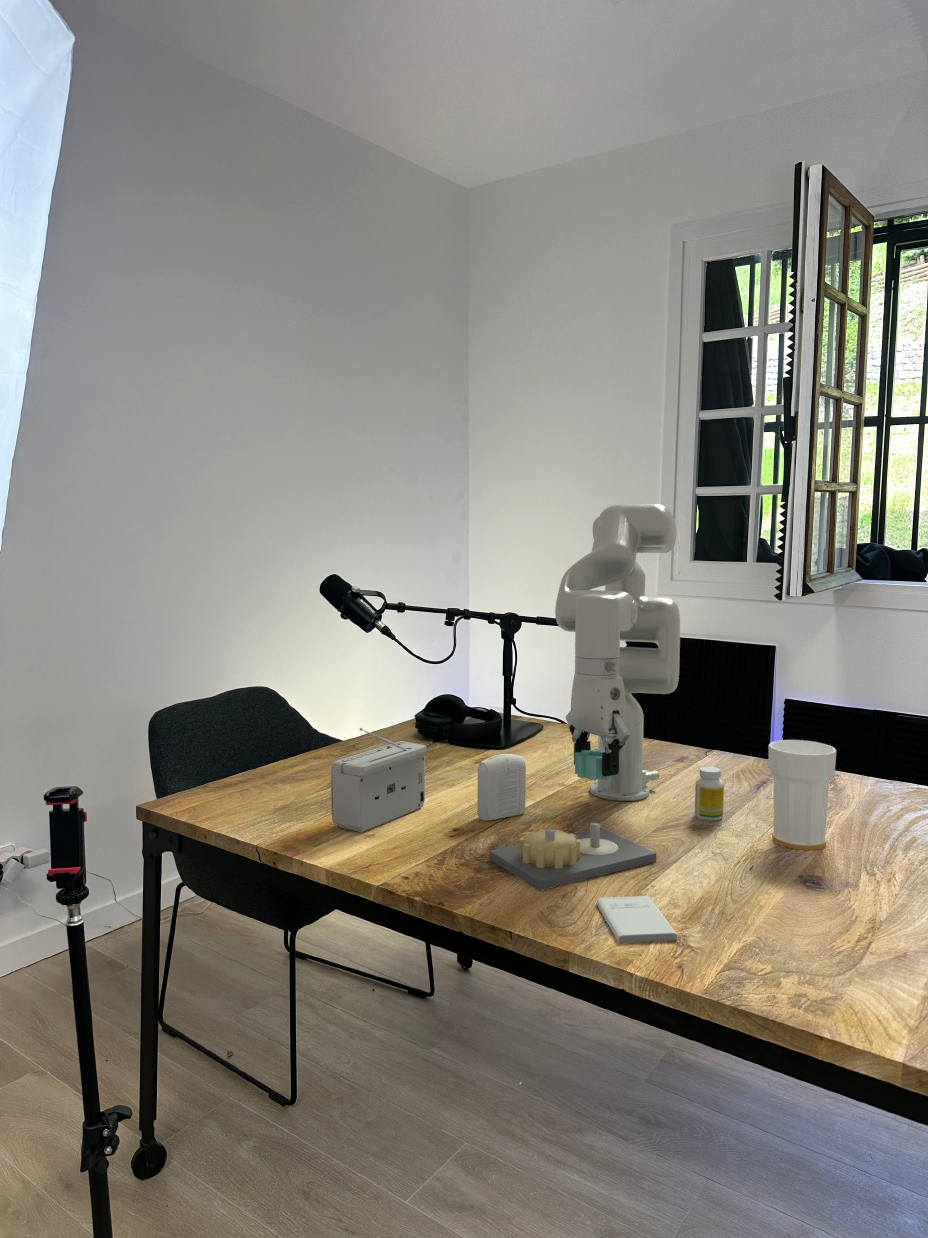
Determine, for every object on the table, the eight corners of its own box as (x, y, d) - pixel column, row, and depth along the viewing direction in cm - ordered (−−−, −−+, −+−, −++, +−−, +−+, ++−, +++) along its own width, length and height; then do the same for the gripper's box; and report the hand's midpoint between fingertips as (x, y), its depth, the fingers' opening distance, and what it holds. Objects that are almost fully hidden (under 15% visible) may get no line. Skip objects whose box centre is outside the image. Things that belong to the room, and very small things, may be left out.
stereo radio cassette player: (399, 800, 179) (398, 707, 177) (430, 807, 174) (430, 711, 172) (329, 828, 162) (327, 725, 160) (361, 837, 157) (359, 730, 155)
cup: (752, 835, 157) (754, 743, 155) (799, 827, 161) (802, 737, 160) (798, 856, 147) (801, 757, 145) (847, 847, 151) (851, 751, 149)
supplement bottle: (689, 814, 169) (690, 767, 168) (711, 811, 171) (713, 764, 170) (705, 822, 164) (706, 774, 163) (728, 819, 166) (730, 771, 165)
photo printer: (515, 808, 173) (516, 748, 172) (528, 814, 170) (529, 753, 168) (474, 817, 168) (473, 756, 166) (486, 823, 164) (486, 761, 163)
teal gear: (599, 767, 151) (599, 747, 150) (624, 776, 145) (625, 756, 144) (567, 772, 147) (567, 752, 147) (592, 782, 141) (592, 761, 141)
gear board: (600, 835, 157) (600, 803, 157) (656, 861, 144) (656, 827, 144) (489, 859, 146) (489, 825, 145) (539, 890, 133) (539, 853, 132)
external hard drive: (618, 947, 116) (596, 907, 128) (677, 944, 116) (649, 905, 129) (618, 935, 116) (596, 897, 128) (677, 932, 116) (649, 894, 129)
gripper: (649, 672, 139) (647, 779, 140) (583, 659, 154) (582, 756, 155) (612, 675, 135) (611, 785, 136) (549, 662, 150) (548, 761, 152)
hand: (595, 769), depth 146 cm, fingers closed on teal gear, 7 cm apart
